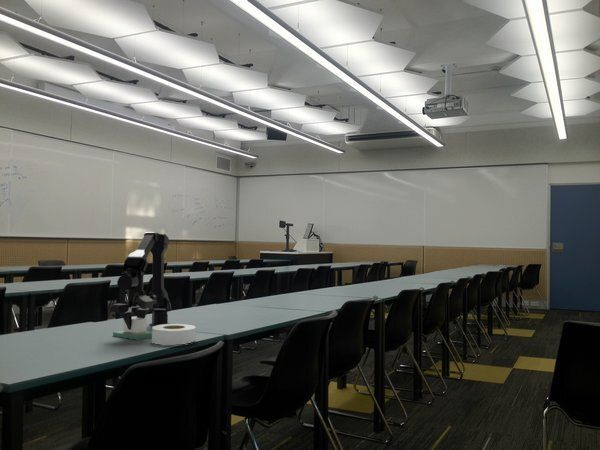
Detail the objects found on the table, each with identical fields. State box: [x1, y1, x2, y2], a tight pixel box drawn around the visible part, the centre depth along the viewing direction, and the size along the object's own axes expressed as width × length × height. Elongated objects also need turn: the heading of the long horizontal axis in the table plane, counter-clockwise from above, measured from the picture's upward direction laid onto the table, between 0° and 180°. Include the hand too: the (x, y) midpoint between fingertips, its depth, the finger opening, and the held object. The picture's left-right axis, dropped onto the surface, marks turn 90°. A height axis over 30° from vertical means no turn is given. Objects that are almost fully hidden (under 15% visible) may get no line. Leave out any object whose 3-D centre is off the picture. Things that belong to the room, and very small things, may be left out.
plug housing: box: [122, 316, 147, 333], centre depth 204 cm, size 8×4×5 cm, turn 57°
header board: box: [112, 330, 152, 341], centre depth 204 cm, size 14×9×4 cm, turn 56°
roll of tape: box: [151, 323, 197, 346], centre depth 195 cm, size 16×16×6 cm
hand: (134, 328), depth 204 cm, fingers closed on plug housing, 4 cm apart
